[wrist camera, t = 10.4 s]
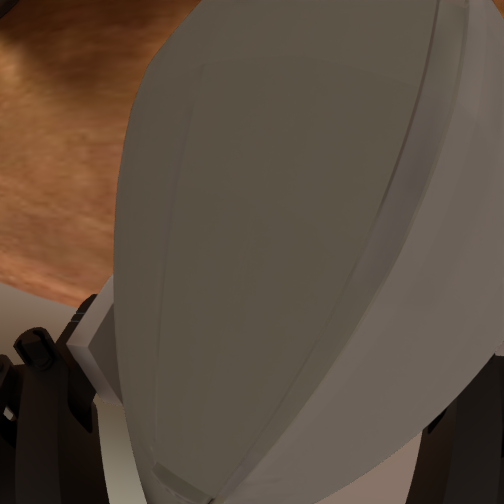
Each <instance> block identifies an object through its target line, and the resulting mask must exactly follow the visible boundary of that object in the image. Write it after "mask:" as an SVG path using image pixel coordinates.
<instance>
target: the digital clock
mask: <svg viewBox="0 0 504 504" xmlns="http://www.w3.org/2000/svg"><path fill="white" fill-rule="evenodd" d="M113 289H114V319H115V337H116V350H117V361H118V370H119V379H120V386H121V394H122V400H123V406H124V411H125V417H126V422H127V427H128V432H129V436H130V441H131V446H132V450H133V454H134V458H135V462H136V466H137V470H138V474H139V478H140V481H141V485H142V488H143V492H144V495H145V498H146V501H147V504H314V503H316V502H318V501H320V500H322V499H324V498H326V497H328V496H329V495H331V494H333V493H335V492H337V491H338V490H340V489H342V488H343V487H345V486H347V485H348V484H350V483H352V482H353V481H355V480H356V479H358V478H359V477H361V476H363V475H364V474H365V473H367V472H369V471H370V470H371V469H373V468H374V467H376V466H377V465H379V464H380V463H381V462H383V461H384V460H386V459H387V458H388V457H390V456H391V455H392V454H394V453H395V452H396V451H398V450H399V449H400V448H401V447H403V446H404V445H405V444H406V443H408V442H409V441H410V440H411V439H413V438H414V437H415V436H416V435H417V434H418V433H420V432H421V431H422V430H423V429H424V428H425V427H426V426H427V425H428V424H430V423H431V422H432V421H433V420H434V419H435V418H436V417H437V416H438V415H439V414H440V413H441V412H442V411H443V410H444V409H445V408H446V407H447V406H448V405H449V404H450V403H451V402H452V401H453V400H454V399H455V398H456V397H457V396H458V395H459V394H460V393H461V392H462V391H463V389H464V388H465V387H466V386H467V385H468V384H469V383H470V382H471V381H472V379H473V378H474V377H475V376H476V375H477V374H478V372H479V371H480V370H481V369H482V368H483V366H484V365H485V364H486V363H487V362H488V360H489V359H490V358H491V357H492V355H493V354H494V353H495V351H496V350H497V349H498V347H499V346H500V345H501V343H502V342H503V341H504V19H503V18H502V16H501V14H500V13H499V11H498V9H497V8H496V6H495V5H494V3H493V1H492V0H201V2H200V3H199V4H198V5H197V6H196V7H195V8H194V9H193V10H192V11H191V12H190V13H189V15H188V16H187V17H186V18H185V19H184V20H183V21H182V22H181V24H180V25H179V26H178V27H177V28H176V29H175V31H174V32H173V33H172V34H171V35H170V37H169V38H168V39H167V40H166V42H165V43H164V44H163V46H162V47H161V48H160V49H159V51H158V52H157V53H156V55H155V56H154V57H153V59H152V60H151V62H150V63H149V64H148V67H147V69H146V71H145V74H144V76H143V79H142V82H141V84H140V87H139V89H138V92H137V95H136V98H135V100H134V103H133V106H132V109H131V113H130V117H129V122H128V126H127V131H126V136H125V141H124V147H123V152H122V158H121V164H120V170H119V177H118V184H117V196H116V209H115V227H114V257H113Z"/></svg>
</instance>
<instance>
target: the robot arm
mask: <svg viewBox="0 0 504 504" xmlns="http://www.w3.org/2000/svg"><path fill="white" fill-rule="evenodd" d="M17 1H18V0H0V18H1V17H2V16H3V15H4V14H5V13H7V12H8V11H9V10H10V9H11V8H12V7H13V6H14V5H15V3H16V2H17ZM13 347H14V348H15V350H16V351H17V353H18V354H19V356H20V357H21V359H22V360H23V362H24V363H25V364H22V365H13V363H12V362H11V361H10V359H9V358H8V357H7V356H6V355H3V354H1V355H0V504H110V503H109V498H108V493H107V487H106V482H105V476H104V469H103V463H102V455H101V446H100V437H99V426H98V414H97V408H96V405H95V404H94V402H93V399H94V396H95V394H96V393H97V394H98V395H99V397H100V398H101V400H102V401H103V402H104V403H108V404H114V405H119V406H123V400H122V394H121V386H120V379H119V370H118V361H117V350H116V337H115V319H114V289H113V274H112V275H111V276H110V278H109V279H108V281H107V282H106V284H105V285H104V286H103V288H102V289H101V291H100V292H99V294H92V295H91V296H90V297H89V298H87V299H86V300H85V301H84V302H83V303H82V304H81V305H80V307H79V308H78V310H77V311H76V314H74V316H73V317H72V319H71V322H69V323H68V325H67V326H66V328H65V329H64V331H63V332H62V334H61V335H60V337H59V339H58V340H57V341H56V343H54V341H53V340H52V338H51V336H50V335H49V333H48V332H47V330H46V329H44V328H42V327H36V328H32V329H29V330H27V331H25V332H24V333H22V334H21V335H20V336H19V337H18V339H17V340H16V341H15V344H14V345H13ZM5 408H7V409H8V410H9V411H10V412H11V413H12V414H13V417H12V419H11V420H9V419H7V417H6V416H5V415H4V414H3V413H4V410H5ZM405 504H504V356H496V355H495V353H494V354H493V355H492V357H491V358H490V359H489V360H488V362H487V363H486V364H485V365H484V366H483V368H482V369H481V370H480V371H479V372H478V374H477V375H476V376H475V377H474V378H473V379H472V381H471V382H470V383H469V384H468V385H467V386H466V387H465V388H464V389H463V391H462V392H461V393H460V394H459V395H458V396H457V397H456V398H455V399H454V400H453V401H452V402H451V403H450V404H449V405H448V406H447V407H446V408H445V409H444V410H443V411H442V412H441V413H440V414H439V415H438V416H437V417H436V418H435V419H434V420H433V421H432V422H431V423H430V424H428V425H427V426H426V427H425V428H424V429H423V431H422V437H421V443H420V448H419V453H418V457H417V462H416V466H415V470H414V474H413V479H412V482H411V486H410V490H409V493H408V497H407V500H406V503H405Z"/></svg>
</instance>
